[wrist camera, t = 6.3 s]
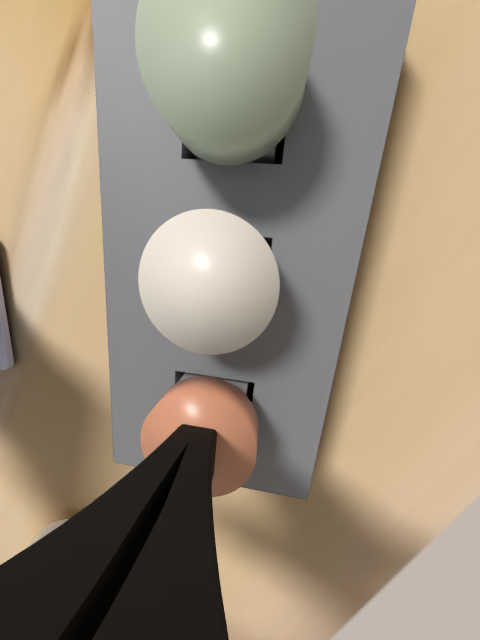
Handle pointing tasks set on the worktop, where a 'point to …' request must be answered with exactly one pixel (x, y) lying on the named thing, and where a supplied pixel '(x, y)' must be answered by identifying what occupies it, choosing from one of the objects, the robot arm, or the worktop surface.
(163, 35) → the sage button
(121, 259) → the button panel
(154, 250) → the cream button
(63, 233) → the worktop surface
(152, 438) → the terracotta button
